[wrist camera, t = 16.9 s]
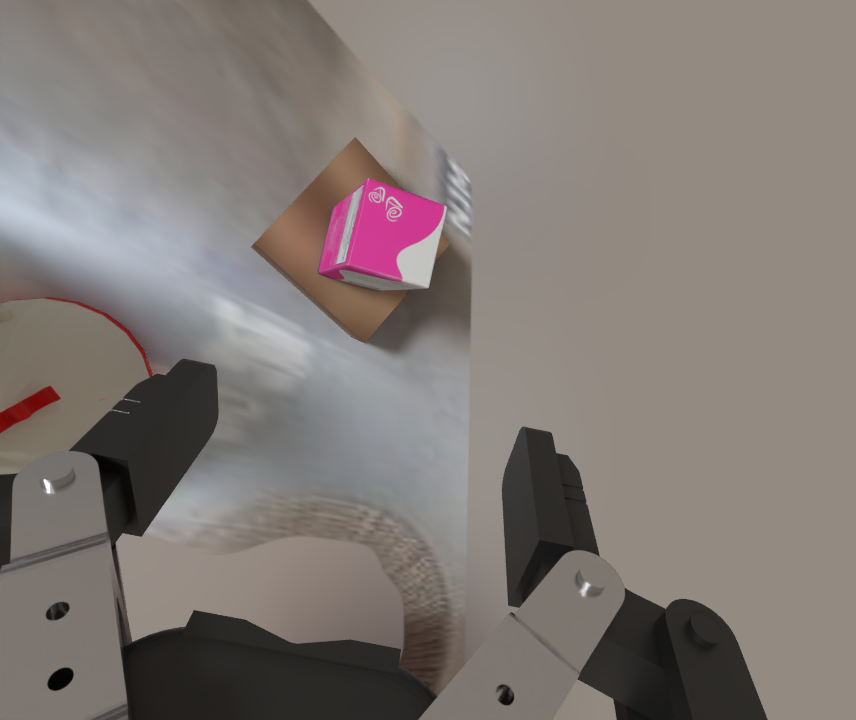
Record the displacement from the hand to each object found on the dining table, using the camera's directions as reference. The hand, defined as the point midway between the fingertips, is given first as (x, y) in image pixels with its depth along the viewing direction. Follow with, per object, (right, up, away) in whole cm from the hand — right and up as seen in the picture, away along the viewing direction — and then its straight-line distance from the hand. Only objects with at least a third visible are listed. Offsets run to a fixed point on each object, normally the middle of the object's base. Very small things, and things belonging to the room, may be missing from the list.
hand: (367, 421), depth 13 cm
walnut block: (-6, +12, +34) cm, 36 cm away
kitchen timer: (-28, 0, +26) cm, 38 cm away
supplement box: (-4, +11, +29) cm, 32 cm away
